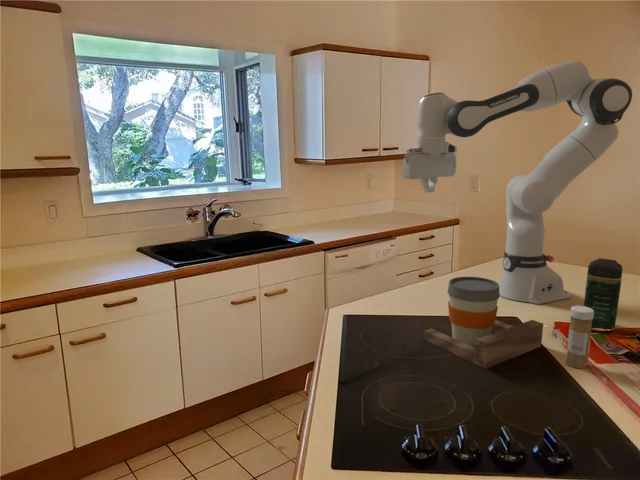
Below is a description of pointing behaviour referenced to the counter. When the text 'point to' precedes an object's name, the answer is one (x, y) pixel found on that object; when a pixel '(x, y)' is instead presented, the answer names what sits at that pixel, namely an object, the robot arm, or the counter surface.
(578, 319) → the spice jar
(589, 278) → the coffee jar
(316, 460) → the counter surface
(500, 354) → the walnut bay
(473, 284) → the reusable coffee cup
